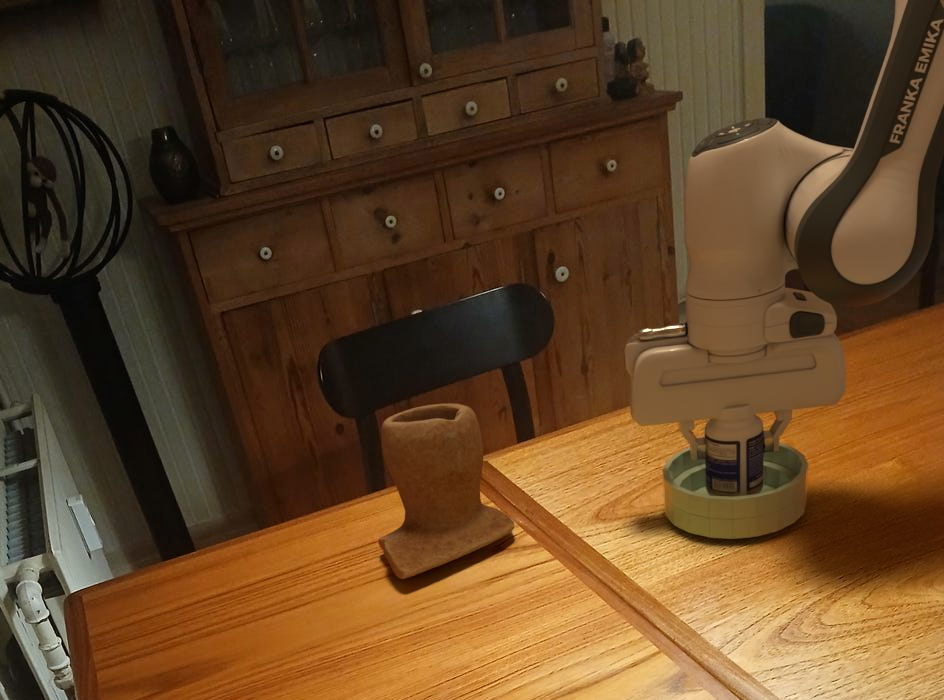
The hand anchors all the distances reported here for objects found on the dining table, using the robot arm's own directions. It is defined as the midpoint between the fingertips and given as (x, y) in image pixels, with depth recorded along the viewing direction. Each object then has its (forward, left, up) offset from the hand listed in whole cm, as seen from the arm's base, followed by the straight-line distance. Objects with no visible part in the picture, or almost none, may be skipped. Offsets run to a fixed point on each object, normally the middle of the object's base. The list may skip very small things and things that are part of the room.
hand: (734, 454), depth 99 cm
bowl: (0, 0, -6) cm, 6 cm away
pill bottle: (0, 0, -4) cm, 4 cm away
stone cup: (+31, +2, -7) cm, 32 cm away
